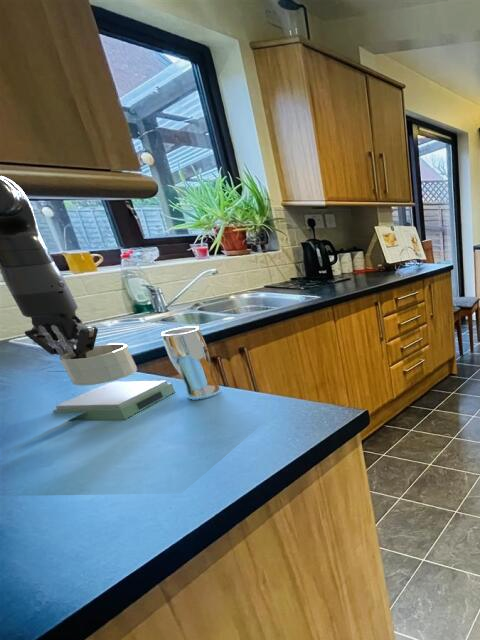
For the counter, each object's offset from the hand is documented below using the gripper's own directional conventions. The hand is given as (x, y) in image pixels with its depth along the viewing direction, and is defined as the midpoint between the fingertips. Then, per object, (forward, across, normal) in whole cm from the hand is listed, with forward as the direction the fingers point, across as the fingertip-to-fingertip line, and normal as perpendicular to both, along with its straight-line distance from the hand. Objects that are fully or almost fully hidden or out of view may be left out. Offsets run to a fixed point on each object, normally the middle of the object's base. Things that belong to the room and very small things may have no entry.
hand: (82, 372), depth 84 cm
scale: (+8, +5, 0) cm, 9 cm away
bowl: (+1, +5, 0) cm, 5 cm away
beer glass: (+8, +20, +5) cm, 22 cm away
